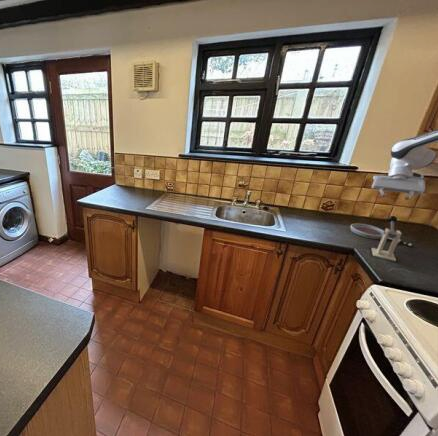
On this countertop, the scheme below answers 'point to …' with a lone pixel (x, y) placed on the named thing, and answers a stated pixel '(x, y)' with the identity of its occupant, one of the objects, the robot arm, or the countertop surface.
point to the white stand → (389, 253)
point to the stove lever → (392, 226)
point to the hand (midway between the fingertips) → (395, 197)
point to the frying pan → (370, 232)
